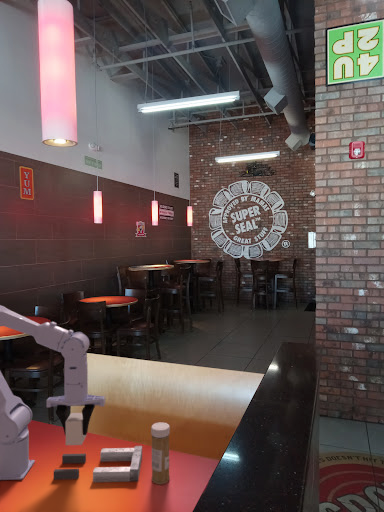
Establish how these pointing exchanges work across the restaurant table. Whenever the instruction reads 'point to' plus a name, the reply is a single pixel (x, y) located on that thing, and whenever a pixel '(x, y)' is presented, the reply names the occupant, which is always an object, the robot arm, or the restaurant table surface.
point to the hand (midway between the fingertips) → (76, 433)
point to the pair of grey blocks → (69, 472)
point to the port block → (119, 472)
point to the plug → (74, 429)
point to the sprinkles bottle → (160, 452)
